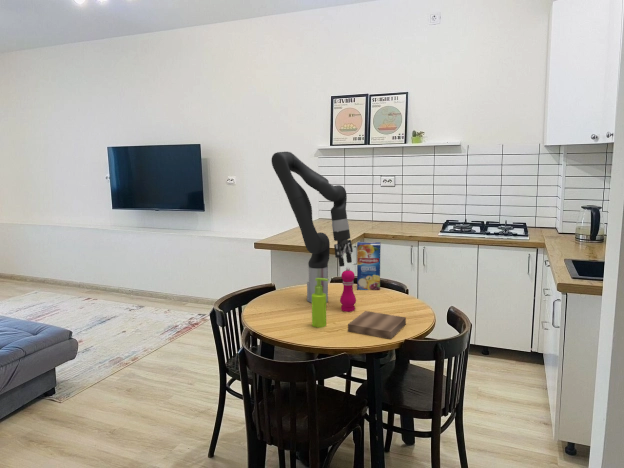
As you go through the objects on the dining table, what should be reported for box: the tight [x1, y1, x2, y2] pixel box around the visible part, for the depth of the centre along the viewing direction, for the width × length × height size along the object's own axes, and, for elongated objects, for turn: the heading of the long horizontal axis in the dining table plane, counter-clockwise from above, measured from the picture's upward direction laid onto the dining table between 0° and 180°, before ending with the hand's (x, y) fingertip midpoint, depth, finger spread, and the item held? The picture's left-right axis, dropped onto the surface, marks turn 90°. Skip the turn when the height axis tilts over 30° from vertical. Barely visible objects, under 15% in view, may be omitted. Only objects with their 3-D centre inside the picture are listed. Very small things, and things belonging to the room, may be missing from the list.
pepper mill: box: [339, 266, 357, 313], centre depth 211 cm, size 7×7×20 cm
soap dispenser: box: [311, 278, 329, 329], centre depth 192 cm, size 6×7×20 cm
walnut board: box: [347, 310, 407, 340], centre depth 190 cm, size 18×18×3 cm
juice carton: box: [356, 241, 382, 291], centre depth 245 cm, size 12×8×24 cm, turn 83°
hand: (345, 264), depth 213 cm, fingers open, 8 cm apart
